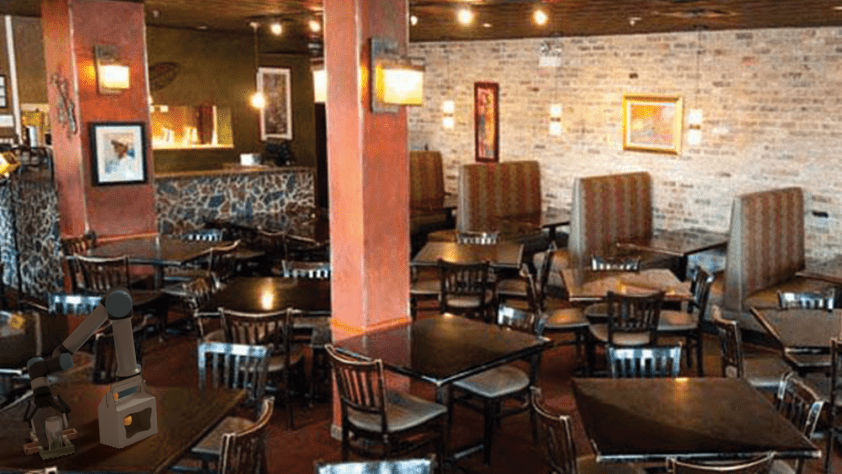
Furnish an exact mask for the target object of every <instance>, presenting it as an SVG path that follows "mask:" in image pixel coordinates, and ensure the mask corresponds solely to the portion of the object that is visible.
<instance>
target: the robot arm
mask: <svg viewBox="0 0 842 474" xmlns="http://www.w3.org/2000/svg"><path fill="white" fill-rule="evenodd" d="M133 307H134V306H133V298H132V293H131V291H130V289H128V288H127V287H125V286H123V285H115V286H112V287H111V288H110V289H108V290H107V292H106V293H105V294H104V296H103V297H102V298H101V299H100V300H99V302H98V305H97V306H96V308H94V309H93V310H92V311H91V313H90V314H89V315H88V316H87V317H86V318H84V320H83V321H82V322H81V323H80V324H79V325H78V326H77V327H76V328H75V329H74V330H73V331H72V333H70V334H69V336H67V338H65V340H64V341H63V342H62V343H61V344H60V345H59V346H57V347H56V348H55V349H54V350H53V352H52V354H51V355H52V356H51V357H50V358H47V359H44V357H41V356H37V357H32V358H30V359H29V360H27V362H26V367H27V373H28V374H27V375H28V377H29V380H30V385H31V391H32V395H33V399H34V400H31V399H28V400H27V407H26V408H25V413H24V415H23V418H22V422H23V423H27V425H28V429H30V430H31V432H33V436H34V435H36V427H35V424H34V416H36V414H37V412H39V409H41V410H43V409H46V408H48V409H49V408H50V407H51V409H52V408H53V409H55V410H56V411H58V412H59V413H61V414H62V420H63V424H64V427H65V430H68V429H69V427H68V426H69V424H68V421H69V419H70V418H69V414H70V413H71V412H72V408H71V407H70V406H69V404H67V403H66V402H65V401H64V399H62V398H61V395H60V394H56V396H53V394H52V390H51V385H50V382H49V376H51V375H55V374H57V373H60V372H61V373H62V372H64V371H68V370H69V369H72V368H73V367H74V360H73V356H74V354H75V353H76V352H77V351H78V350H79V349H80V348H81V347H82V346H83V345H84V344H85V343H86V342H87V341H88V339H90V338H91V337H92V335H94V333H96V331H98V329H100V328H101V326H102V325H103V324H104V323H105V322H106V321H107V320H108V321H110V322H111V325H112V332H113V333H112V334H113V340H114V348H115V355H116V362H117V363H116V364H117V367H116V372H115V383H117V382H120V381H122V380H125V379H128V378H131V377H134V376H137V375H140V376H141V378H142V379H143V377H142V375H143V373H142V371H143V370H142V366H141V364H139V363H137V358H136V350H135V349H136V348H135V342H134V332H133V327H132V319H133V317H134V308H133ZM137 387H138V386H134V387H132V388H129V389H126V390H123V391H120V392H118V393H117V399H119V398H122V397H125V396H128V395H130V394H133V393H136V392H137ZM55 401H56V402H58V404H59V405H58V404H57V403H56V402H55ZM33 405H34V406H35V408H34V409H33V410H32V411H31V414H30V415H29V412H30V410H31V407H32V406H33ZM28 415H29V416H28Z"/></svg>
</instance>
